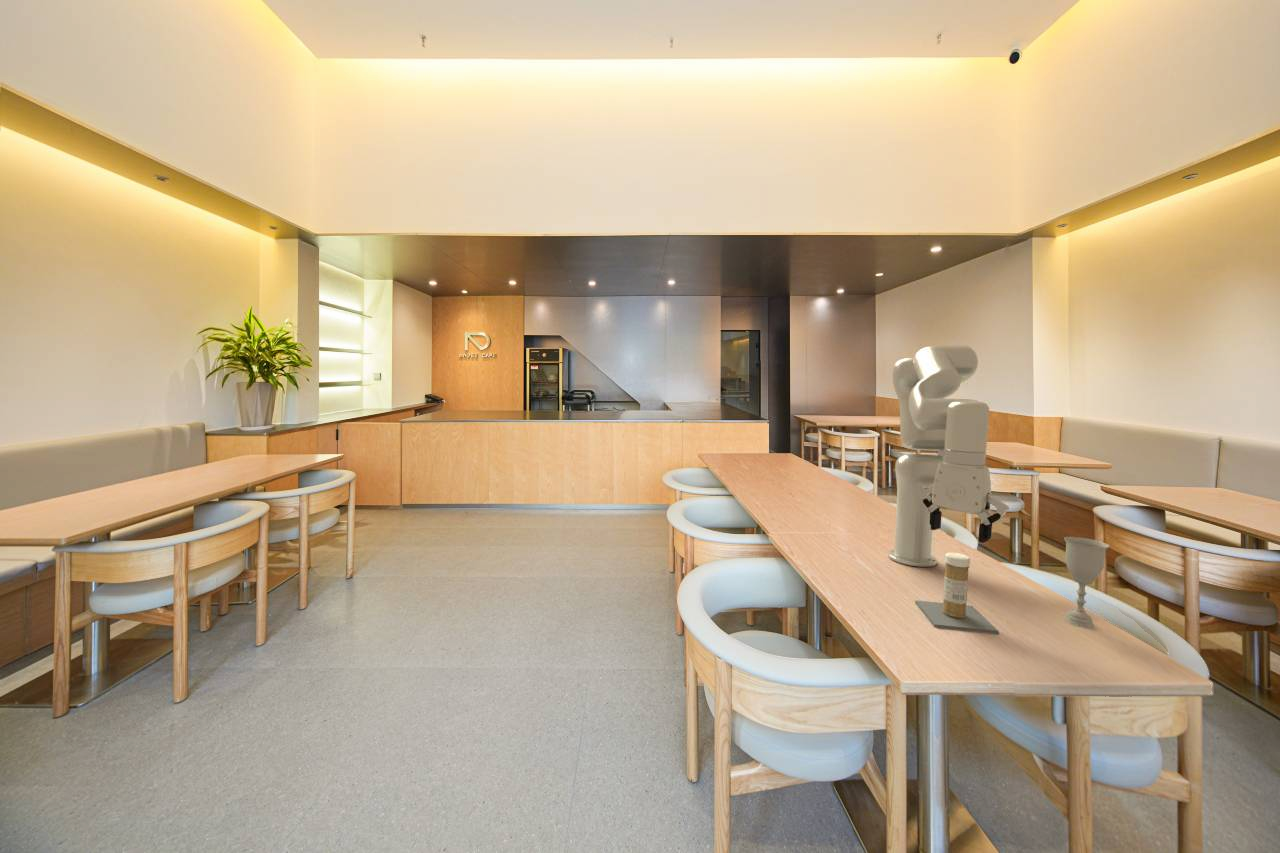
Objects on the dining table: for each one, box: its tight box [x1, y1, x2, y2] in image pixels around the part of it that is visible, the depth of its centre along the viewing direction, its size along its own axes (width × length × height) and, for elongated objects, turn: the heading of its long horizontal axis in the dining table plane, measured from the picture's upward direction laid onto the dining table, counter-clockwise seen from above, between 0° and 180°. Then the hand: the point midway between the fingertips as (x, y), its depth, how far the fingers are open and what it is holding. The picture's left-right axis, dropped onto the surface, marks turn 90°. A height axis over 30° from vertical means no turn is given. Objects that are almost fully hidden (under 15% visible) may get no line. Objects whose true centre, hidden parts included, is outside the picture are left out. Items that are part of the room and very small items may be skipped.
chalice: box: [1063, 536, 1110, 629], centre depth 105 cm, size 7×7×18 cm
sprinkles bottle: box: [942, 552, 971, 618], centre depth 107 cm, size 5×5×13 cm
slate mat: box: [914, 599, 999, 635], centre depth 107 cm, size 12×12×1 cm
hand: (958, 535), depth 106 cm, fingers open, 9 cm apart
